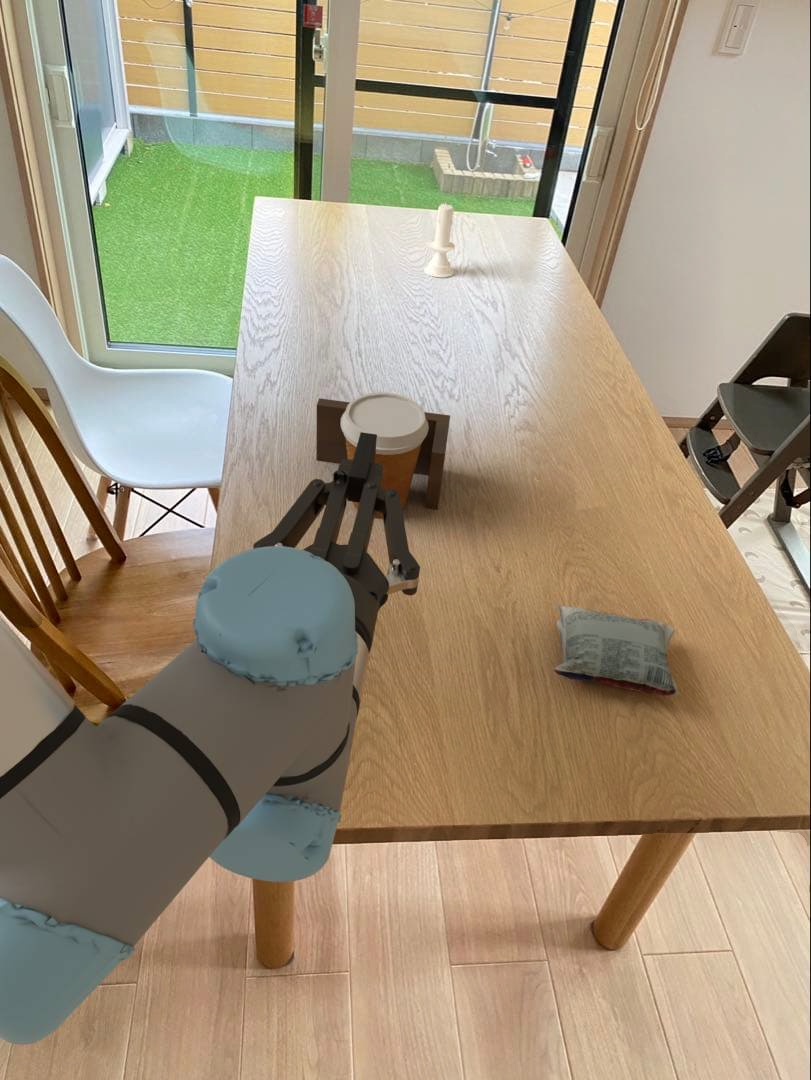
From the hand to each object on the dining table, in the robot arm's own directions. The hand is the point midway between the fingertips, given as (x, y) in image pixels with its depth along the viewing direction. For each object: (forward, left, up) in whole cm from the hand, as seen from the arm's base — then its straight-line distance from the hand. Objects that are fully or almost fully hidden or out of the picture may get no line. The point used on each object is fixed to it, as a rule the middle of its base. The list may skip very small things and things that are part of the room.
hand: (368, 445), depth 71 cm
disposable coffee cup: (+7, +11, -17) cm, 21 cm away
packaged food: (+19, -19, -17) cm, 31 cm away
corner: (+8, +15, -17) cm, 23 cm away
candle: (+41, +67, -17) cm, 80 cm away
